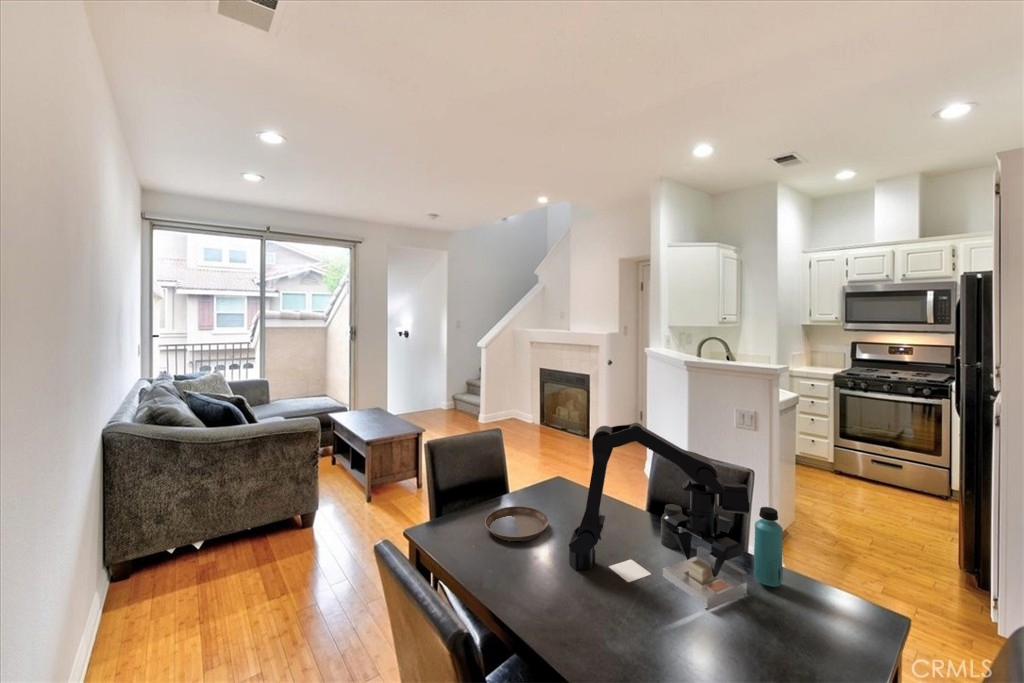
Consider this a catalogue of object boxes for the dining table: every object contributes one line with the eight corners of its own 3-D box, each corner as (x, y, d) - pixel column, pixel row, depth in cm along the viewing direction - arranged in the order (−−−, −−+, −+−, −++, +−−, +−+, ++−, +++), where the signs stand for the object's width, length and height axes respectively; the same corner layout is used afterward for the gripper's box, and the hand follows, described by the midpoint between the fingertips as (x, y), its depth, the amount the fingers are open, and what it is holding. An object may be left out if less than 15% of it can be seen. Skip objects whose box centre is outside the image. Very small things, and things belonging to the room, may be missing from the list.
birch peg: (701, 594, 110) (702, 570, 110) (688, 585, 114) (689, 562, 114) (712, 589, 112) (713, 566, 112) (699, 581, 116) (700, 558, 115)
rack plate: (707, 610, 104) (707, 588, 104) (662, 578, 117) (663, 558, 116) (746, 593, 110) (747, 572, 110) (700, 565, 123) (700, 546, 123)
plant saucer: (503, 552, 131) (503, 542, 130) (474, 524, 149) (474, 514, 148) (560, 535, 141) (560, 525, 140) (527, 510, 159) (527, 501, 158)
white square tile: (628, 585, 114) (628, 582, 114) (608, 569, 121) (608, 566, 121) (651, 577, 118) (651, 574, 118) (631, 562, 125) (631, 559, 125)
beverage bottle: (782, 596, 109) (784, 517, 108) (751, 587, 113) (753, 511, 112) (782, 582, 115) (784, 507, 114) (753, 574, 118) (755, 501, 117)
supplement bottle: (686, 553, 129) (687, 513, 128) (662, 550, 130) (662, 511, 130) (682, 541, 136) (683, 503, 135) (659, 539, 137) (659, 501, 136)
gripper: (757, 516, 107) (755, 578, 108) (695, 489, 124) (693, 543, 125) (726, 526, 102) (724, 591, 103) (665, 496, 119) (664, 552, 120)
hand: (701, 567), depth 113 cm, fingers open, 8 cm apart
